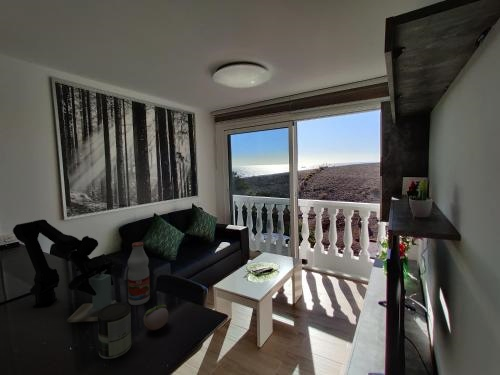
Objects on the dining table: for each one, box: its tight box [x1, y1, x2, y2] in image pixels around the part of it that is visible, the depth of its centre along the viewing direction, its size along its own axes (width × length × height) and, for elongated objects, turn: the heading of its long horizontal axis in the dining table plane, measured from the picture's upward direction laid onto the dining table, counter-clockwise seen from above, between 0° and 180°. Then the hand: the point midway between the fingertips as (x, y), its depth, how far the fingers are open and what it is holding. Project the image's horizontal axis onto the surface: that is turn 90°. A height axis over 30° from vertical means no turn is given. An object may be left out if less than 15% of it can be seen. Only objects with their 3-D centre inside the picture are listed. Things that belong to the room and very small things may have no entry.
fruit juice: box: [127, 241, 151, 306], centre depth 119 cm, size 9×9×28 cm
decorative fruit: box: [143, 304, 169, 331], centre depth 98 cm, size 9×8×10 cm
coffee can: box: [97, 302, 132, 360], centre depth 88 cm, size 10×10×14 cm
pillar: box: [91, 274, 113, 309], centre depth 108 cm, size 5×5×14 cm
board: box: [66, 299, 119, 323], centre depth 109 cm, size 16×12×4 cm
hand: (104, 289), depth 107 cm, fingers open, 9 cm apart
